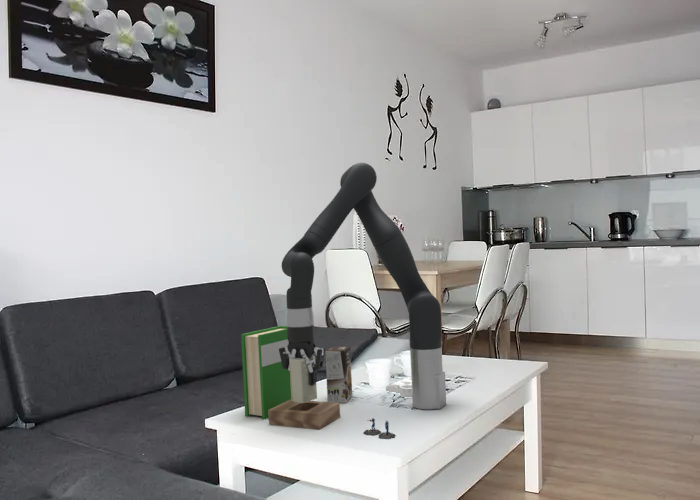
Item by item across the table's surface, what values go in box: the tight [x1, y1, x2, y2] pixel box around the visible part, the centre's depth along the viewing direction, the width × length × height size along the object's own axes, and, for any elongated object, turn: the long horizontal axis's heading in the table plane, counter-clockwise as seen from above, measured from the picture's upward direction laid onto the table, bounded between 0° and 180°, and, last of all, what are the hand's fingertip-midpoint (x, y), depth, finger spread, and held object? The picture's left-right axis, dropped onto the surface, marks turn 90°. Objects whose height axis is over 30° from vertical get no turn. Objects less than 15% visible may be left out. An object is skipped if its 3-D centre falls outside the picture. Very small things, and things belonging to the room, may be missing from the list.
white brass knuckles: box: [385, 376, 412, 397], centre depth 203 cm, size 3×18×15 cm
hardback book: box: [240, 325, 291, 420], centre depth 187 cm, size 18×7×24 cm, turn 147°
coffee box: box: [325, 345, 353, 404], centre depth 196 cm, size 9×6×16 cm
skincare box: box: [289, 355, 318, 403], centre depth 174 cm, size 6×4×12 cm
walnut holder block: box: [268, 400, 341, 430], centre depth 174 cm, size 16×12×4 cm
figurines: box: [363, 417, 397, 440], centre depth 159 cm, size 10×5×4 cm, turn 46°
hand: (303, 384), depth 174 cm, fingers closed on skincare box, 5 cm apart
